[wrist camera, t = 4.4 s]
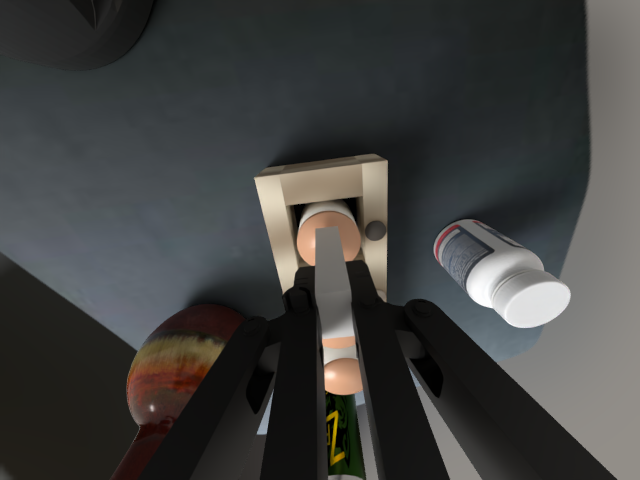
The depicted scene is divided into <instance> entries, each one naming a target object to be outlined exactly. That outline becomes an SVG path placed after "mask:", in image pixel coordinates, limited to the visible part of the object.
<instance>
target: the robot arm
mask: <svg viewBox="0 0 640 480" xmlns="http://www.w3.org/2000/svg"><path fill="white" fill-rule="evenodd" d="M152 3H153V0H0V54H1V55H3V56H6V57H9V58H13V59H16V60H20V61H24V62H28V63H33V64H37V65H42V66H47V67H51V68H56V69H62V70H72V71H82V70H91V69H96V68H99V67H102V66H105V65H107V64H110V63H112V62H113V61H115V60H117V59H118V58H120V57H121V56H122V55H124V54H125V53H126V52H127V51H128V50H129V49H130V48H131V47H132V46H133V44H134V43H135V42H136V40H137V39H138V37H139V36H140V34H141V32H142V31H143V29H144V27H145V24H146V22H147V20H148V17H149V14H150V11H151V7H152ZM282 299H283V303H284V307H285V310H286V313H285V314H283V315H282V316H280V317H278V318H276V319H273V320H270V321H267V320H266V319H265V318H264V317H260V316H255V317H251V318H248V319H246V320H245V321H243V322H242V323H241V324H240V325H239V326H238V327H237V329H236V330H235V332H234V333H233V335H232V336H231V338H230V339H229V341H228V342H227V344H226V345H225V347H224V348H223V350H222V351H221V353H220V354H219V356H218V357H217V359H216V360H215V362H214V363H213V365H212V366H211V368H210V369H209V371H208V373H207V374H206V376H205V377H204V379H203V380H202V382H201V383H200V385H199V386H198V388H197V389H196V391H195V392H194V394H193V395H192V397H191V398H190V400H189V401H188V403H187V404H186V406H185V407H184V409H183V410H182V412H181V413H180V415H179V416H178V418H177V419H176V421H175V422H174V424H173V426H172V427H171V429H170V430H169V432H168V433H167V435H166V436H165V438H164V439H163V441H162V442H161V444H160V445H159V447H158V448H157V450H156V451H155V453H154V454H153V456H152V457H151V459H150V460H149V462H148V463H147V465H146V466H145V468H144V469H143V471H142V472H141V474H140V475H139V477H138V478H137V480H239V478H240V475H241V473H242V470H243V468H244V465H245V462H246V460H247V457H248V454H249V452H250V449H251V447H252V444H253V441H254V439H255V436H256V434H257V431H258V428H259V426H260V423H261V420H262V418H263V415H264V413H265V410H266V407H267V405H268V402H269V400H270V397H271V394H272V392H273V398H272V404H271V410H270V417H269V423H268V430H267V436H266V443H265V449H264V456H263V462H262V468H261V475H260V480H328V459H327V431H326V403H325V375H324V349H323V343H322V338H323V339H329V338H339V337H350V336H355V344H356V357H357V358H358V363H359V369H360V374H361V380H362V386H363V392H364V398H365V404H366V409H367V415H368V421H369V427H370V433H371V438H372V444H373V450H374V456H375V461H376V467H377V473H378V479H379V480H450V478H449V476H448V473H447V470H446V467H445V465H444V462H443V459H442V457H441V454H440V451H439V449H438V446H437V443H436V440H435V438H434V435H433V433H432V430H431V427H430V424H429V422H428V419H427V416H426V414H425V411H424V408H423V406H422V403H421V400H420V398H419V395H418V392H417V389H416V387H415V384H414V381H413V379H412V376H411V373H410V371H409V368H410V369H411V371H412V372H413V374H414V375H415V377H416V378H417V380H418V381H419V383H420V385H421V386H422V388H423V389H424V391H425V392H426V393H427V395H428V397H429V398H430V400H431V401H432V403H433V405H434V406H435V407H436V409H437V410H438V412H439V414H440V415H441V417H442V418H443V420H444V421H445V423H446V424H447V426H448V427H449V429H450V431H451V432H452V434H453V435H454V437H455V438H456V440H457V441H458V443H459V444H460V446H461V448H462V449H463V450H464V452H465V454H466V455H467V457H468V458H469V460H470V461H471V463H472V464H473V466H474V468H475V469H476V471H477V472H478V474H479V475H480V477H481V478H482V480H617V479H616V478H615V477H614V476H613V475H612V474H611V473H610V472H609V471H608V470H607V469H606V468H605V467H604V466H603V465H602V464H601V463H599V461H597V460H596V459H595V458H594V457H593V456H592V455H591V454H590V453H589V452H588V451H587V450H586V449H585V448H584V447H583V446H582V445H581V444H580V443H579V442H578V441H577V440H576V439H575V438H574V437H572V435H571V434H569V433H568V432H567V431H566V430H565V429H564V428H563V427H562V426H561V425H560V424H559V423H558V422H557V421H556V420H555V419H554V418H553V417H552V416H551V415H550V414H549V413H548V412H547V411H546V410H545V409H543V408H542V407H541V406H540V405H539V404H538V403H537V402H536V401H535V400H534V399H533V398H532V397H531V396H530V395H529V394H528V393H527V392H526V391H525V390H524V389H523V388H522V387H521V386H520V385H518V383H517V382H515V381H514V380H513V379H512V378H511V377H510V376H509V375H508V374H507V373H506V372H505V371H504V370H503V369H502V368H501V367H500V366H499V365H498V364H497V363H496V362H495V361H494V360H493V359H492V358H491V357H490V356H489V355H488V354H487V353H485V352H484V351H483V350H482V349H481V348H480V347H479V346H478V345H477V344H476V343H475V342H474V341H473V340H472V339H471V338H470V337H469V336H468V335H467V334H466V333H465V332H464V331H463V330H462V329H461V328H460V327H459V326H457V325H456V324H455V323H454V322H453V321H452V320H451V319H450V318H449V317H448V316H447V315H446V314H445V313H444V312H443V311H442V310H441V309H440V308H439V307H438V306H437V305H435V304H434V303H432V302H430V301H428V300H424V299H413V300H411V301H409V302H407V303H406V305H405V307H403V306H396V305H392V304H389V303H386V302H385V301H383V300H382V298H381V297H380V296H379V295H378V293H377V291H376V288H375V285H374V282H373V279H372V277H371V274H370V271H369V268H368V265H367V264H366V263H365V262H364V261H363V260H354V261H345V259H344V254H343V249H342V244H341V239H340V235H339V230H338V226H333V227H324V228H316V229H315V266H306V267H299V269H298V270H297V271H296V272H295V277H294V285H293V287H291V288H289V289H288V290H287V291H286V292H284V294H283V296H282ZM408 366H409V368H408ZM273 389H274V391H273Z"/></svg>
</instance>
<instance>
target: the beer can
mask: <svg viewBox="0 0 640 480" xmlns="http://www.w3.org/2000/svg"><path fill="white" fill-rule="evenodd" d="M325 403H326V431H327V459H328V480H366V473H365V465H364V459H363V452H362V444H361V437H360V430H359V423H358V416H357V409H356V401H355V394H349V395H338V394H333V393H330V392H328V391H326V390H325Z"/></svg>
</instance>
